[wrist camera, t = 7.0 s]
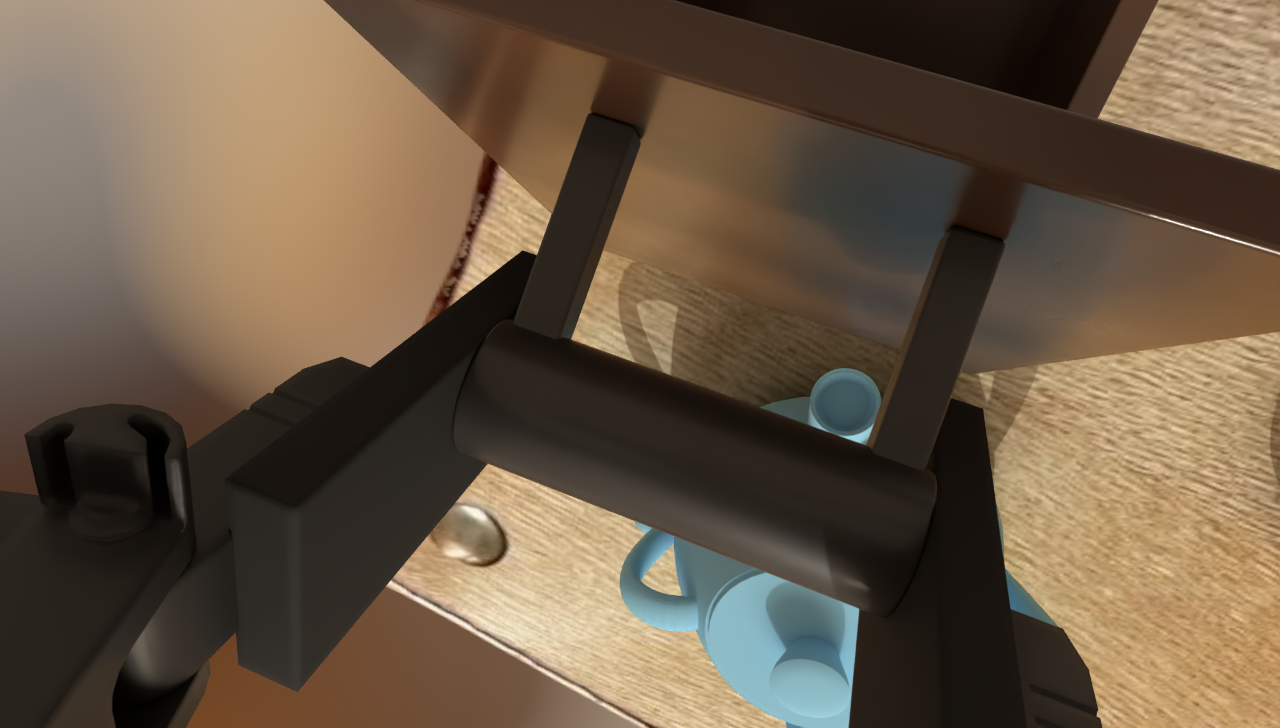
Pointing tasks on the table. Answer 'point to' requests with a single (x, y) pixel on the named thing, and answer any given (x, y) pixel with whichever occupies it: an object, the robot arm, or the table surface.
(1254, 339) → the table surface
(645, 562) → the teapot
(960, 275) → the lid
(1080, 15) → the chest
